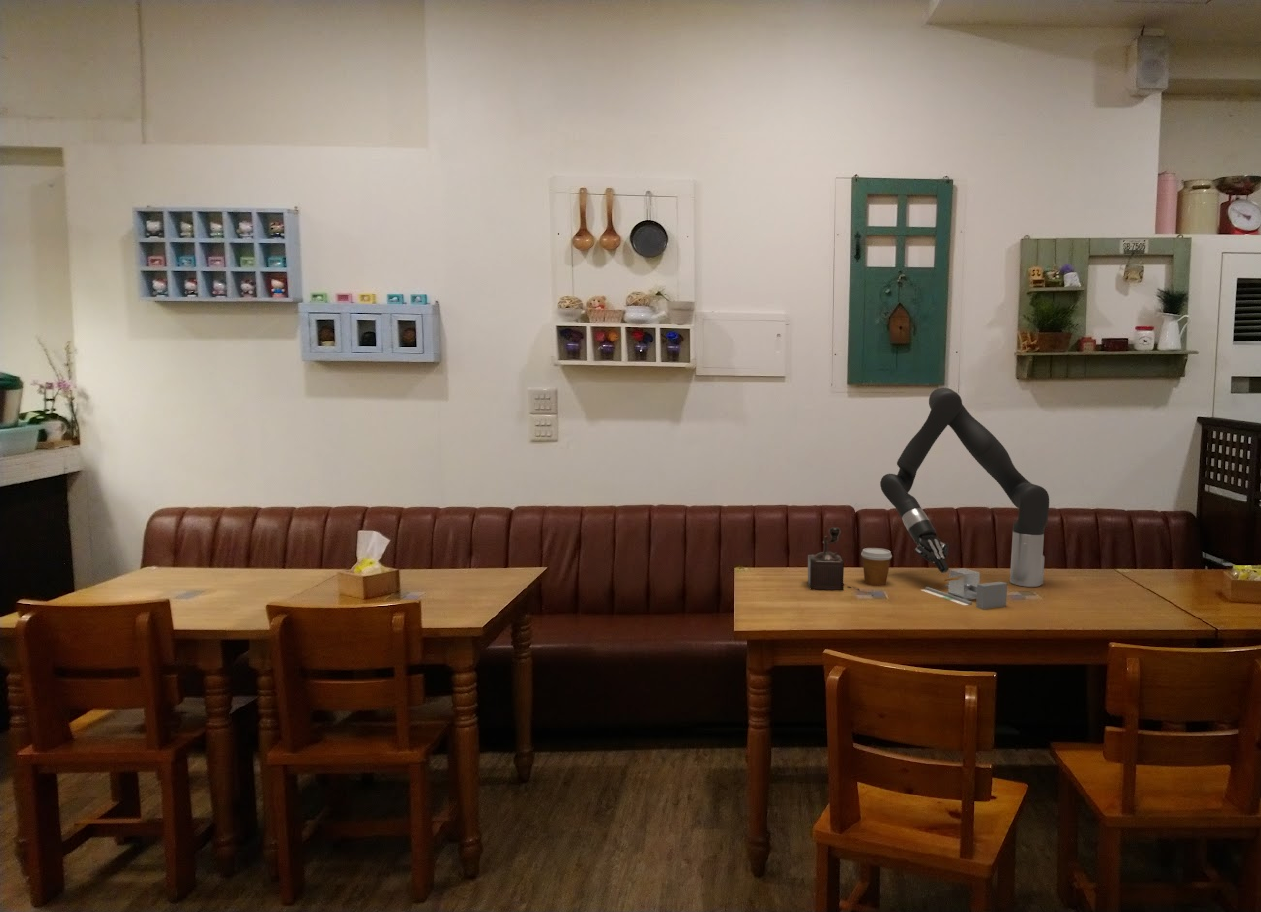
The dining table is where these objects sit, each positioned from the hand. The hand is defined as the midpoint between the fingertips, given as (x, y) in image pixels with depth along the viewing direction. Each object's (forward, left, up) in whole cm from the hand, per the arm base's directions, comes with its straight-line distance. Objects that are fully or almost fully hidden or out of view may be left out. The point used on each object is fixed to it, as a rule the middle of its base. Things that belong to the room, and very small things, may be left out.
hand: (945, 571), depth 249 cm
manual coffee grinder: (+27, -24, -8) cm, 37 cm away
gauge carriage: (+3, +10, -6) cm, 12 cm away
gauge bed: (0, +8, -8) cm, 11 cm away
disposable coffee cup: (+14, -15, -8) cm, 22 cm away
